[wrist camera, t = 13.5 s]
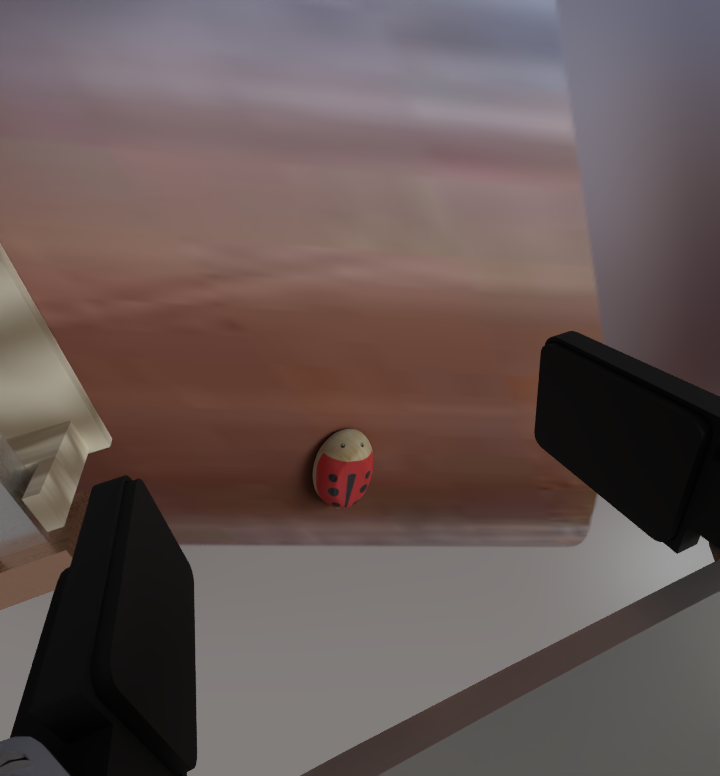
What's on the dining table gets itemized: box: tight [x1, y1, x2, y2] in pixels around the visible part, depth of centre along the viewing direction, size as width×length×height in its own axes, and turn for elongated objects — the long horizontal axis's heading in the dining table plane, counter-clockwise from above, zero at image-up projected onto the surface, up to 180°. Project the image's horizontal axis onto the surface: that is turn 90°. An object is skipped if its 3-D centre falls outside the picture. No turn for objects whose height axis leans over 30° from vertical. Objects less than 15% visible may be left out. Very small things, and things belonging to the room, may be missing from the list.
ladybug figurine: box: [313, 429, 373, 509], centre depth 46 cm, size 7×10×4 cm
